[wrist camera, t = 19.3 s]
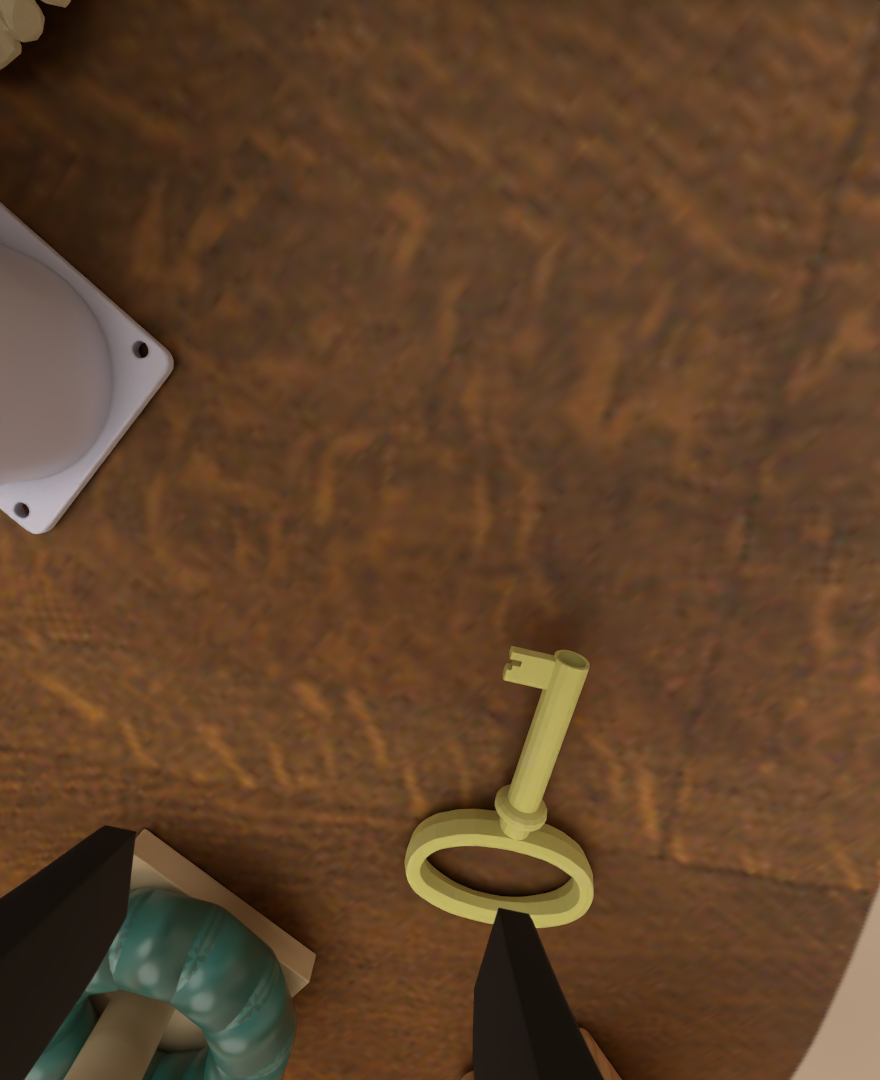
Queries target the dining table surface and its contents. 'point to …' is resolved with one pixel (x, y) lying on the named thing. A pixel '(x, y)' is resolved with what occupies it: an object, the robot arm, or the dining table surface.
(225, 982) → the ring
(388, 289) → the dining table surface
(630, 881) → the dining table surface
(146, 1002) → the post stand
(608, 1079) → the decorative item
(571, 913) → the key
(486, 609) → the dining table surface
